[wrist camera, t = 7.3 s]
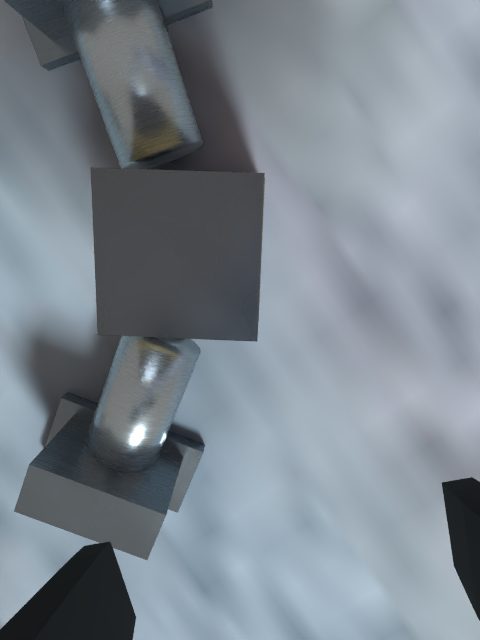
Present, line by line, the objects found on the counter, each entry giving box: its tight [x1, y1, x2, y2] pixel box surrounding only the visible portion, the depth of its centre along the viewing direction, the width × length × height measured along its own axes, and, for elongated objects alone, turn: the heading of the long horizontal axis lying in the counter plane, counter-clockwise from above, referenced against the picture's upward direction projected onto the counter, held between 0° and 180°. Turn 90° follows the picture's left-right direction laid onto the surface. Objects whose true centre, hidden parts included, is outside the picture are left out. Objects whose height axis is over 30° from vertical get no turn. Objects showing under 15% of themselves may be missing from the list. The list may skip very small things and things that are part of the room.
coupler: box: [91, 168, 265, 341], centre depth 15 cm, size 5×5×6 cm
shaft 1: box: [4, 0, 213, 169], centre depth 15 cm, size 8×6×4 cm
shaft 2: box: [14, 336, 205, 560], centre depth 18 cm, size 8×6×4 cm
